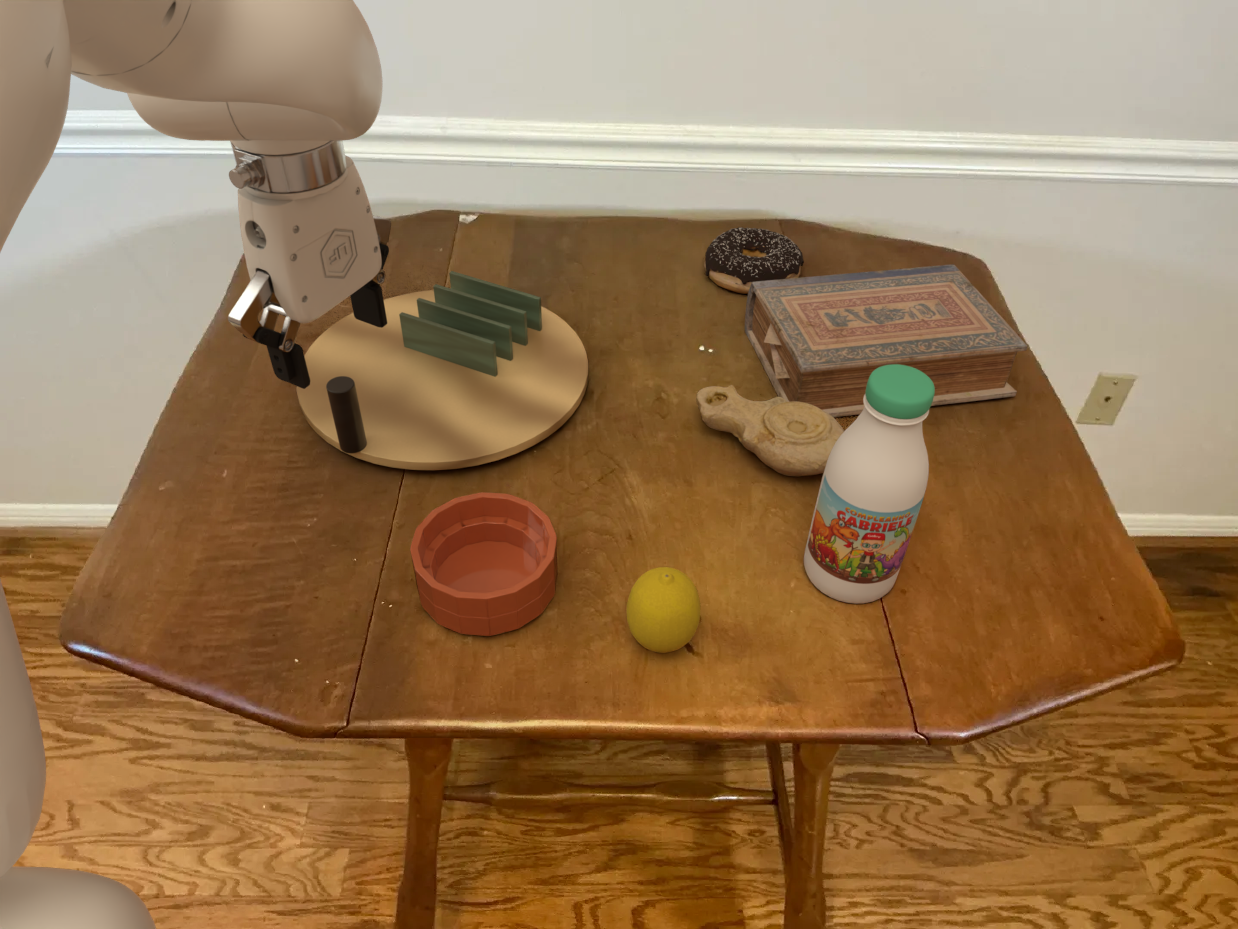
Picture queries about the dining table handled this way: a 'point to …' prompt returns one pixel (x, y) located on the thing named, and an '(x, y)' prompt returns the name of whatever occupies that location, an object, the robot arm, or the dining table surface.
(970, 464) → the dining table surface
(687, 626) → the lemon
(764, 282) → the book
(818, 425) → the oil lamp
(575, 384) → the dish rack
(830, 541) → the milk bottle
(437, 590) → the bowl
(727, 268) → the donut
